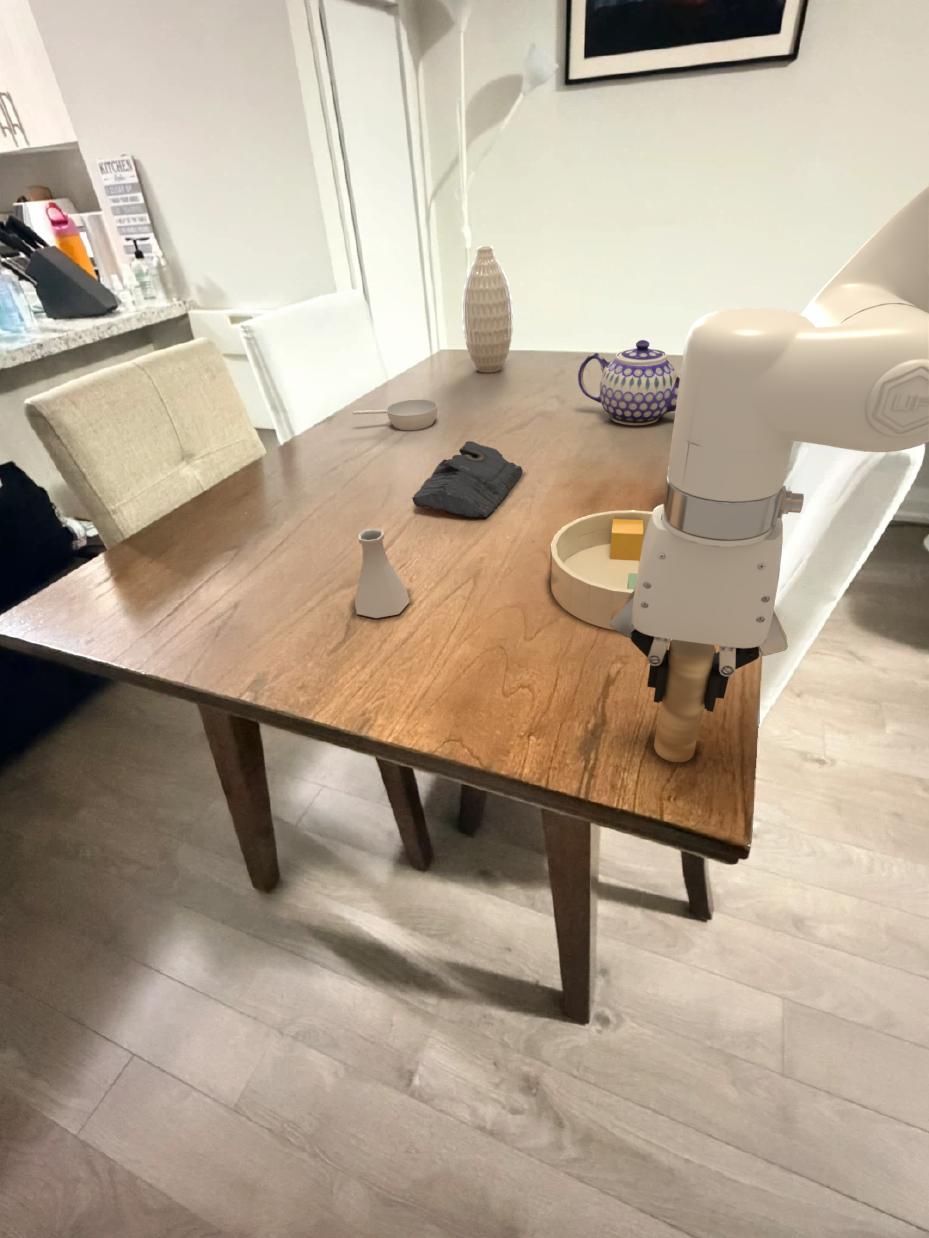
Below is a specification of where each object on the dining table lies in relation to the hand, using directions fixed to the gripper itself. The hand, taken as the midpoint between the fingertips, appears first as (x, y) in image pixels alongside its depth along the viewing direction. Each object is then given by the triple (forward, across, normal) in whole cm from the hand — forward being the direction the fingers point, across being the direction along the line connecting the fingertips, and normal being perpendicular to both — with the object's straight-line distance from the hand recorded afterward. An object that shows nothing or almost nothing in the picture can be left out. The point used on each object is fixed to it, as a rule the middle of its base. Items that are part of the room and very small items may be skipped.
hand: (683, 694), depth 56 cm
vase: (+7, +54, -124) cm, 135 cm away
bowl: (+7, +7, -27) cm, 29 cm away
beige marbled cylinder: (+7, 0, 0) cm, 7 cm away
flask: (+7, +37, -16) cm, 41 cm away
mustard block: (+6, +8, -34) cm, 35 cm away
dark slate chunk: (+7, +37, -51) cm, 63 cm away
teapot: (+7, +13, -91) cm, 92 cm away
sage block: (+6, +5, -20) cm, 22 cm away
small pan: (+7, +62, -80) cm, 101 cm away
